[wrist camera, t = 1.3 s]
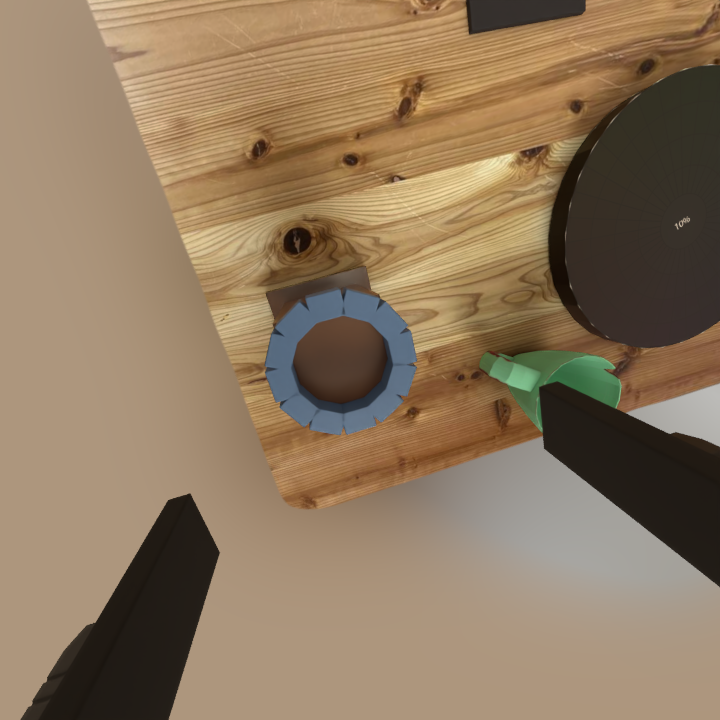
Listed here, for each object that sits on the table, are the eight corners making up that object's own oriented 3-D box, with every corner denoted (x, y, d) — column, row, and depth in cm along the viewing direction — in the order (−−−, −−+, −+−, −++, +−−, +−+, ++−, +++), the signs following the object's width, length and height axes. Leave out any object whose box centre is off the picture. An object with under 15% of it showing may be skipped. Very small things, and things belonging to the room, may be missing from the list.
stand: (267, 291, 37) (244, 309, 23) (363, 265, 37) (394, 268, 24) (297, 381, 40) (292, 442, 27) (385, 356, 41) (422, 402, 27)
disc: (713, 9, 35) (749, -13, 32) (794, 231, 44) (827, 229, 42) (500, 216, 38) (515, 212, 35) (617, 385, 47) (637, 393, 44)
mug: (567, 348, 44) (638, 371, 35) (533, 413, 46) (591, 452, 37) (474, 310, 41) (525, 325, 31) (442, 382, 43) (480, 417, 33)
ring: (248, 311, 23) (243, 314, 22) (392, 271, 24) (398, 272, 22) (294, 439, 27) (293, 451, 25) (420, 401, 27) (427, 410, 26)
